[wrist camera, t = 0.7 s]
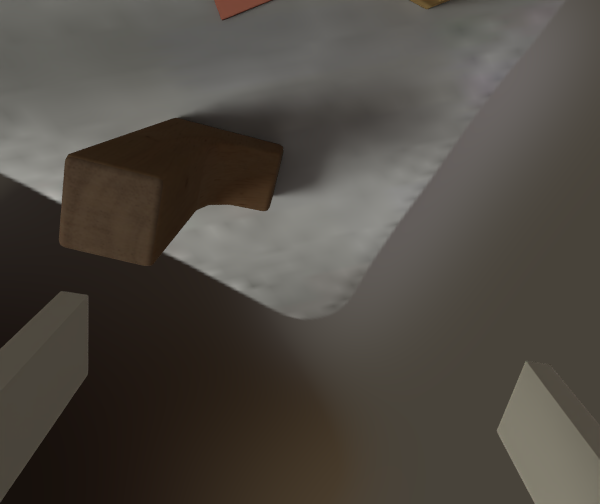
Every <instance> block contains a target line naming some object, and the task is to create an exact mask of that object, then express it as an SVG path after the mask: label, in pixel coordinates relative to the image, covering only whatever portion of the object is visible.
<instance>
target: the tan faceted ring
mask: <svg viewBox="0 0 600 504" xmlns="http://www.w3.org/2000/svg"><path fill="white" fill-rule="evenodd" d="M410 1H412V2H414V3H415V4H417V5H419V6H421V7H423V8H425V9H429V8H431V7H434V6H437V5H439V4H442V3H444V2H447V1H450V0H410Z"/></svg>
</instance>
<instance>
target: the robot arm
mask: <svg viewBox="0 0 600 504" xmlns="http://www.w3.org/2000/svg"><path fill="white" fill-rule="evenodd" d="M87 375H88V295H83V294H77V293H70V292H63V291H61V292H60V293H59V294H58V295H57V296H56V297H55V298H53V299H52V300H51V301H50V303H48V304H47V305H46V306H45V307H44V308H43V309H42V310H41V311H40V312H39V313H38V314H37V315H36V316H35V317H34V318H32V319H31V320H30V321H29V322H28V323H27V324H26V325H25V326H24V327H23V328H22V329H21V330H20V331H19V332H18V333H17V334H16V335H15V336H14V337H13V338H12V339H11V340H9V341H8V342H7V343H6V344H5V345H4V346H3V347H2V348H1V349H0V502H1V500H2V499H3V497H4V496H5V494H6V493H7V491H8V490H9V488H10V487H11V486H12V484H13V482H14V481H15V480H16V478H17V477H18V475H19V474H20V472H21V471H22V469H23V468H24V467H25V465H26V464H27V462H28V461H29V459H30V458H31V456H32V455H33V453H34V452H35V451H36V449H37V447H38V446H39V445H40V443H41V442H42V440H43V439H44V437H45V436H46V434H47V433H48V432H49V430H50V428H51V427H52V426H53V424H54V423H55V421H56V420H57V418H58V417H59V415H60V414H61V413H62V411H63V410H64V408H65V407H66V405H67V404H68V402H69V401H70V399H71V398H72V396H73V395H74V394H75V392H76V391H77V389H78V388H79V386H80V384H81V383H82V382H83V380H84V379H85V377H86V376H87ZM497 432H498V434H499V436H500V438H501V440H502V442H503V444H504V446H505V448H506V450H507V452H508V453H509V455H510V457H511V459H512V461H513V463H514V465H515V467H516V469H517V471H518V473H519V474H520V476H521V478H522V480H523V482H524V484H525V486H526V488H527V490H528V491H529V493H530V495H531V497H532V499H533V501H534V503H535V504H600V425H599V424H598V423H597V421H596V420H595V419H594V418H593V416H592V415H591V414H590V413H589V412H588V410H587V409H586V408H585V407H584V406H583V404H582V403H581V402H580V401H579V399H578V398H577V397H576V396H575V395H574V393H573V392H572V391H571V390H570V388H569V387H568V386H567V385H566V383H565V382H564V381H563V380H562V379H561V377H560V376H559V375H558V374H557V372H556V371H555V370H554V369H553V368H552V366H551V365H550V364H544V363H537V362H530V361H526V362H525V364H524V367H523V369H522V372H521V374H520V377H519V379H518V381H517V384H516V386H515V388H514V391H513V393H512V396H511V398H510V400H509V403H508V405H507V408H506V410H505V413H504V415H503V417H502V420H501V422H500V425H499V427H498V429H497Z"/></svg>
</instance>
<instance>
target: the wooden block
mask: <svg viewBox="0 0 600 504" xmlns="http://www.w3.org/2000/svg"><path fill="white" fill-rule="evenodd" d="M282 155H283V147H282V146H281V145H279V144H276V143H272V142H268V141H264V140H260V139H256V138H252V137H249V136H245V135H241V134H237V133H233V132H229V131H226V130H222V129H218V128H214V127H210V126H206V125H202V124H199V123H195V122H191V121H187V120H183V119H179V118H173V119H170V120H167V121H164V122H161V123H158V124H155V125H153V126H150V127H147V128H144V129H141V130H138V131H135V132H132V133H129V134H126V135H123V136H120V137H117V138H114V139H112V140H109V141H106V142H103V143H100V144H97V145H94V146H91V147H88V148H85V149H82V150H79V151H77V152H74V153H71V154H68V156H67V158H66V160H65V168H64V181H63V194H62V207H61V220H60V233H59V242H60V245H62V246H64V247H66V248H70V249H75V250H79V251H84V252H88V253H92V254H96V255H101V256H105V257H109V258H113V259H118V260H122V261H126V262H130V263H134V264H139V265H143V266H150V265H153V264H154V262H155V261H156V260H157V259H158V257H159V256H160V255H161V254H162V252H163V251H164V250H165V249H166V247H167V246H168V245H169V244H170V242H171V241H172V240H173V239H174V237H175V236H176V235H177V234H178V232H179V231H180V230H181V229H182V227H183V226H184V225H185V224H186V222H187V221H188V220H189V219H190V217H191V216H192V215H193V214H194V212H195V211H196V210H198V209H200V208H203V207H205V206H207V205H234V206H239V207H245V208H250V209H255V210H260V211H267V210H268V209H269V207H270V204H271V200H272V197H273V193H274V189H275V184H276V180H277V176H278V172H279V168H280V164H281V159H282Z"/></svg>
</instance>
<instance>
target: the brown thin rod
mask: <svg viewBox="0 0 600 504" xmlns="http://www.w3.org/2000/svg"><path fill="white" fill-rule="evenodd" d="M214 1H215V3H216V6H217V9H218V11H219V14H220V17H221V19H222V20H224V19H227V18H229V17H232V16H234V15H237V14H239V13H242V12H244V11H247V10H249V9H252V8H254V7H257V6H259V5H261V4H264V3H266V2H269V1H271V0H214Z"/></svg>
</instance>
